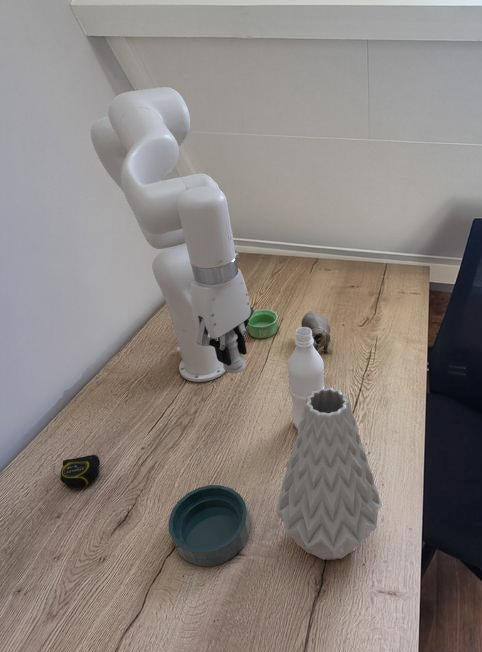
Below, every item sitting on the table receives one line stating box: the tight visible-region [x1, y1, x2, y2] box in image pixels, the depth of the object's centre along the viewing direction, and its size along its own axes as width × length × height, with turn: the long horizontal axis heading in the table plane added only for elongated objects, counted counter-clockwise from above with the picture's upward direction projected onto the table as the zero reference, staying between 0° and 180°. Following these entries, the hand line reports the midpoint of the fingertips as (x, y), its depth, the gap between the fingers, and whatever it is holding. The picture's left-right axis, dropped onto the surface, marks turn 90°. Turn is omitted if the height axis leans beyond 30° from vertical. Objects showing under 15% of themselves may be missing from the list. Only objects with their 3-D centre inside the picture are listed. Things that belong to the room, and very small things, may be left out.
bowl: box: [168, 484, 251, 567], centre depth 80 cm, size 13×13×5 cm
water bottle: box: [287, 326, 325, 430], centre depth 91 cm, size 7×7×25 cm
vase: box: [276, 386, 382, 561], centre depth 69 cm, size 17×17×33 cm
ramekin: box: [247, 308, 279, 339], centre depth 127 cm, size 9×9×4 cm
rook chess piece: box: [223, 329, 247, 374], centre depth 87 cm, size 4×4×8 cm
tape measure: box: [59, 454, 101, 490], centre depth 91 cm, size 7×7×4 cm
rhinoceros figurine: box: [300, 310, 331, 354], centre depth 118 cm, size 8×14×15 cm
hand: (232, 356), depth 88 cm, fingers closed on rook chess piece, 3 cm apart
